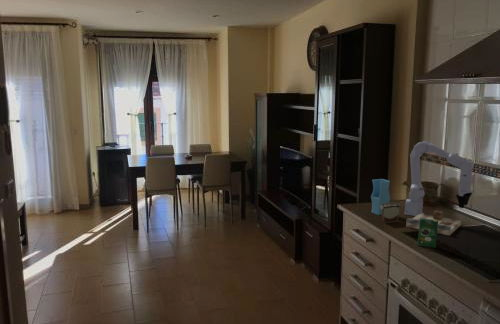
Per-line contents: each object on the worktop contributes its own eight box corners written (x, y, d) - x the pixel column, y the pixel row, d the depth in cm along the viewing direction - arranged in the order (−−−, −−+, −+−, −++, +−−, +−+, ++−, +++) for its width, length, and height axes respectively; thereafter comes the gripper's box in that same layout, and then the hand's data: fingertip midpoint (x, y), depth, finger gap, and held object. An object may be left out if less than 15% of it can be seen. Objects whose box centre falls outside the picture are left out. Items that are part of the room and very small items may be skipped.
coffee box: (436, 246, 198) (438, 219, 196) (436, 248, 195) (438, 221, 193) (417, 244, 201) (419, 217, 199) (417, 246, 198) (419, 219, 196)
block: (433, 218, 233) (433, 211, 233) (435, 217, 237) (435, 210, 236) (440, 220, 231) (441, 213, 230) (442, 218, 234) (443, 211, 233)
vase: (370, 211, 256) (371, 179, 253) (380, 210, 259) (382, 178, 256) (378, 215, 249) (380, 182, 246) (389, 213, 252) (391, 181, 249)
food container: (392, 218, 243) (393, 201, 241) (399, 221, 237) (400, 204, 235) (374, 220, 238) (375, 203, 237) (381, 223, 233) (382, 206, 231)
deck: (406, 226, 227) (406, 218, 226) (419, 217, 244) (420, 210, 243) (449, 235, 213) (450, 227, 212) (460, 225, 230) (461, 217, 229)
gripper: (470, 185, 222) (467, 210, 224) (476, 181, 233) (474, 205, 235) (455, 183, 227) (453, 208, 229) (462, 179, 238) (460, 202, 240)
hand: (463, 206), depth 232 cm, fingers open, 7 cm apart
